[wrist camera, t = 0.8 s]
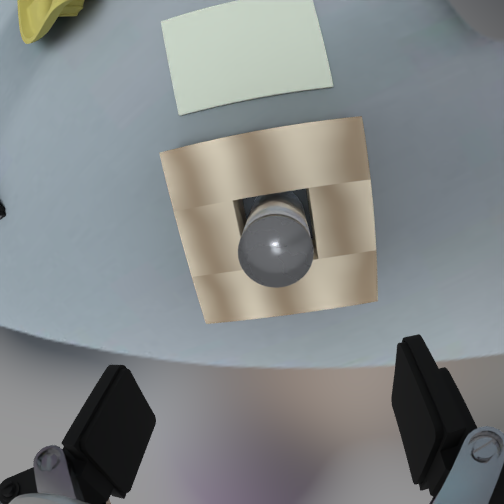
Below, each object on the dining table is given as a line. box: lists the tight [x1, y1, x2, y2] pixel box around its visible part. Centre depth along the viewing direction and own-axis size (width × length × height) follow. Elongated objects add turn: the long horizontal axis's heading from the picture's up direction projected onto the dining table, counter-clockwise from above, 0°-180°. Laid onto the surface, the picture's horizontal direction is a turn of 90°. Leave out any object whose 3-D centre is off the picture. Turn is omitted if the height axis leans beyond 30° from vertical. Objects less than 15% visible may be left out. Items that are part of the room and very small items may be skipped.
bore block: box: [160, 116, 378, 324], centre depth 28 cm, size 16×16×5 cm
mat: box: [161, 0, 333, 116], centre depth 25 cm, size 14×10×1 cm
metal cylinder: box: [238, 191, 314, 288], centre depth 26 cm, size 5×5×10 cm
